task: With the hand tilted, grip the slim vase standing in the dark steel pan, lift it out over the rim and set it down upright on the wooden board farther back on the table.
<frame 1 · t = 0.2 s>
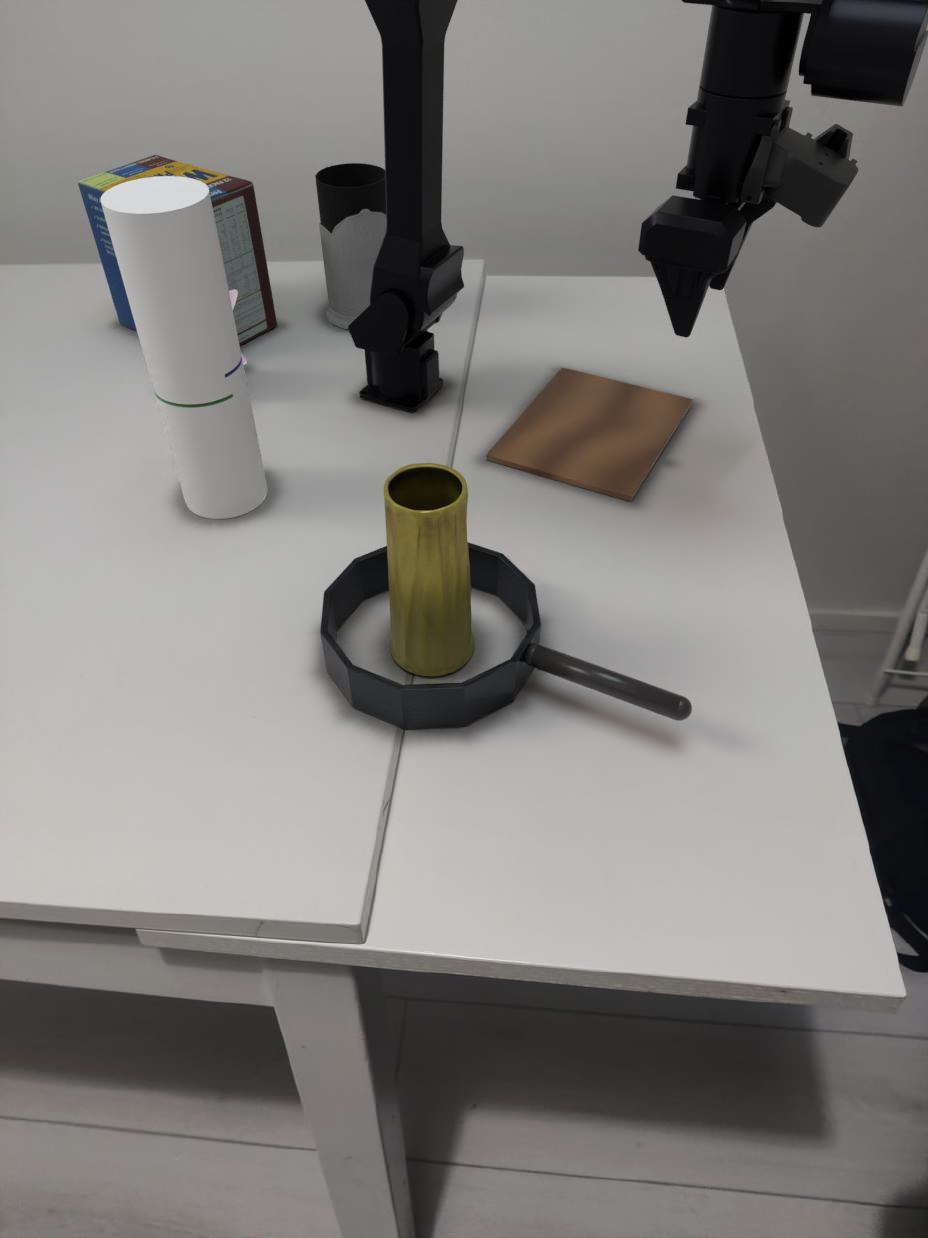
hand: (700, 311, 69), 15 cm above the table, tool pointing down, fingers open, 9 cm apart
wooden board: (593, 430, 84), on the table
cylindrical container: (227, 495, 77), on the table
lily: (211, 388, 90), on the table
vase: (432, 648, 64), resting in pan
pan: (432, 646, 64), on the table
glass holder: (356, 304, 104), on the table
protein box: (198, 327, 100), on the table
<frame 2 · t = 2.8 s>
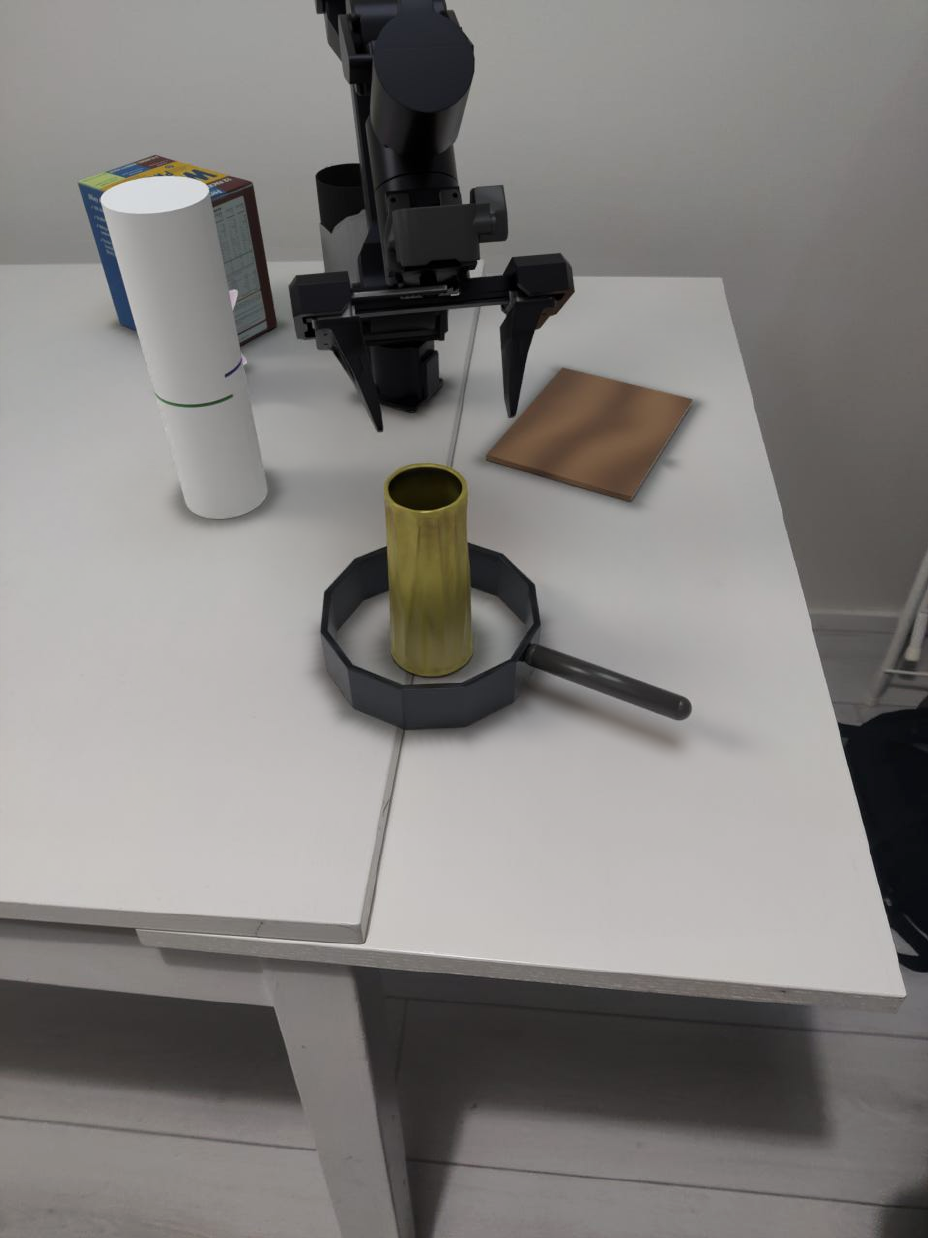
hand: (446, 424, 60), 13 cm above the table, tool tilted 40°, fingers open, 9 cm apart
nothing on the table moved.
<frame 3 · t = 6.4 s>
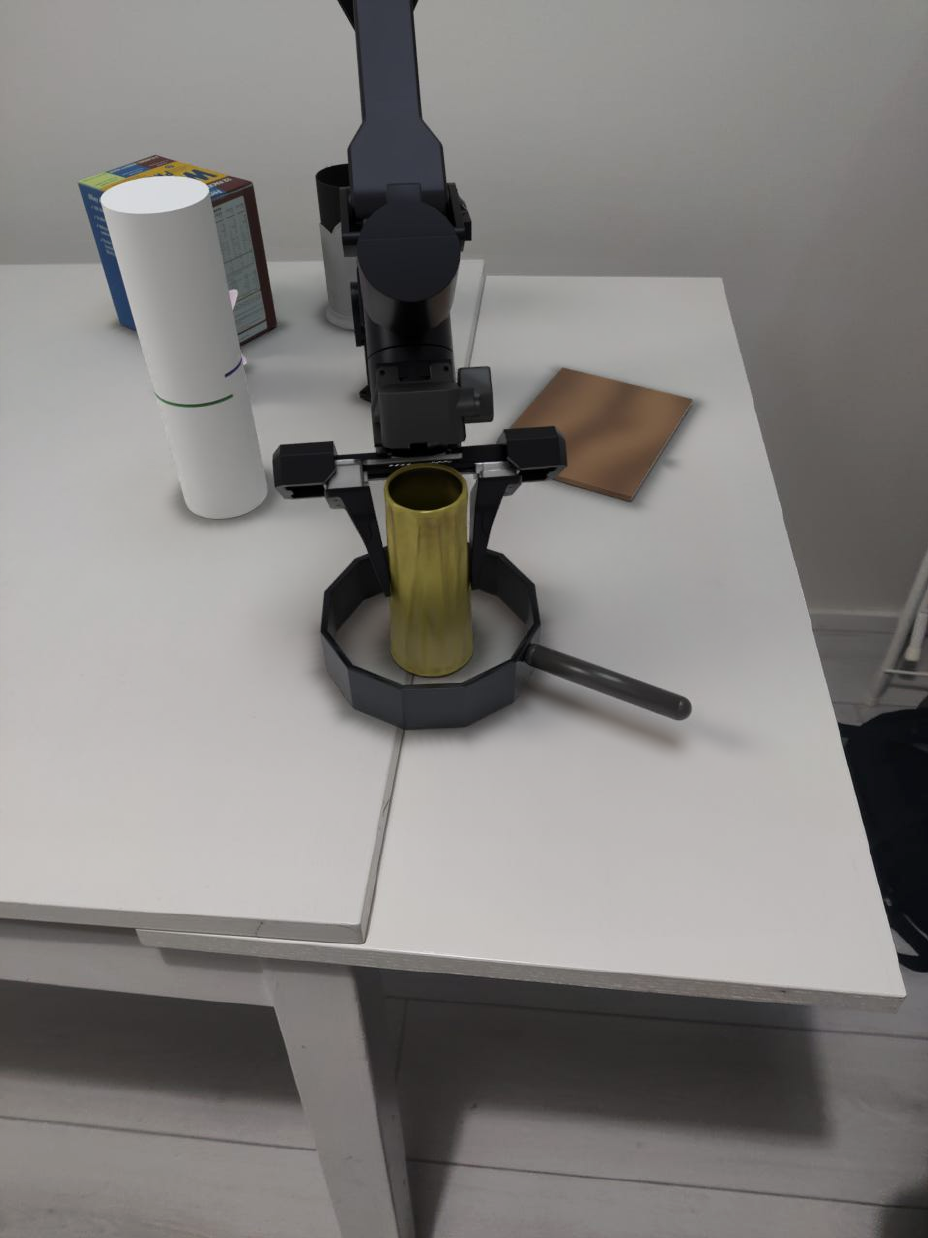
hand: (431, 593, 58), 7 cm above the table, tool tilted 45°, fingers closed on vase, 5 cm apart
vase: (432, 648, 64), resting in pan, touching gripper
everything else where it was.
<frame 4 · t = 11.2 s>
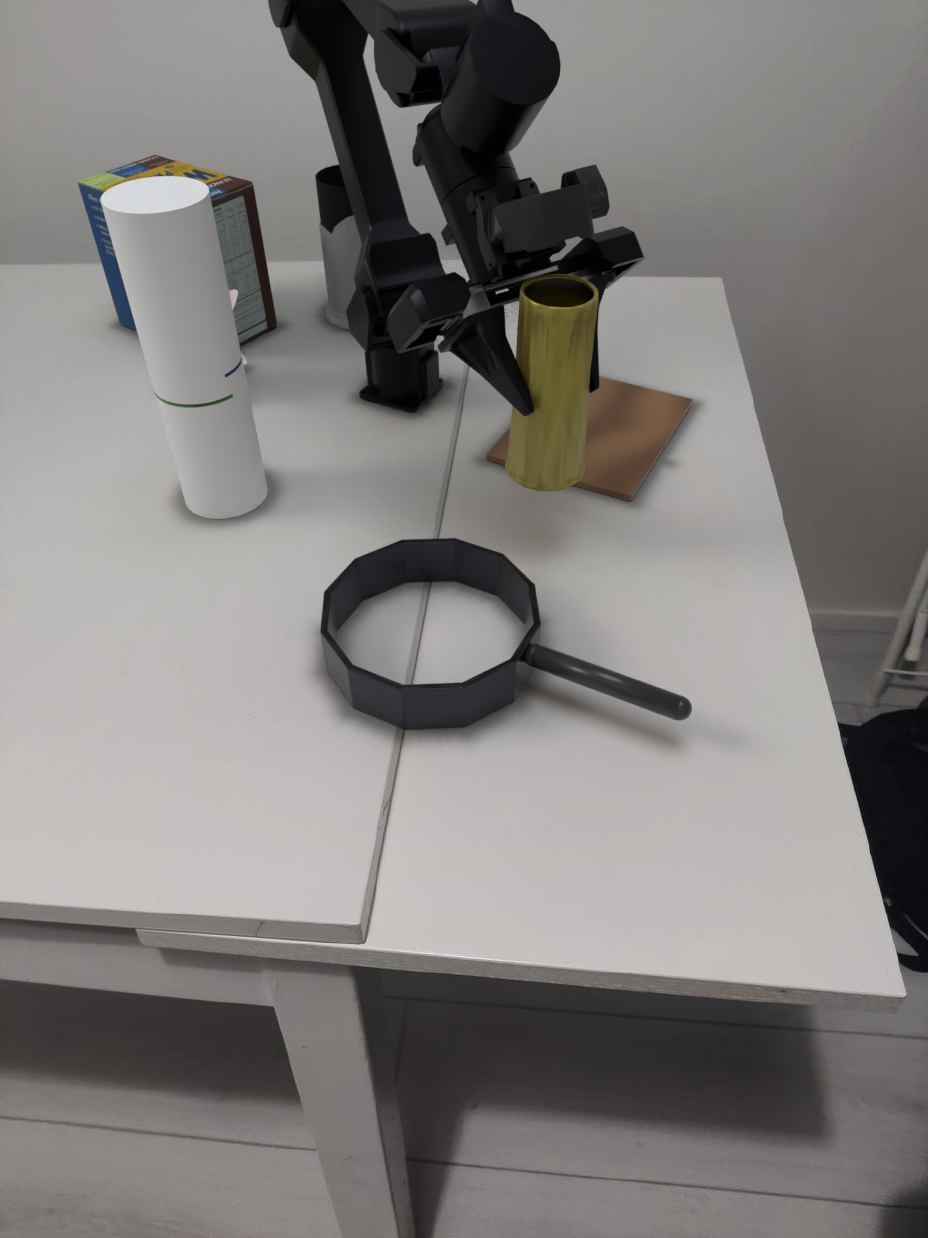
hand: (562, 402, 62), 13 cm above the table, tool tilted 45°, fingers closed on vase, 5 cm apart
vase: (544, 471, 68), point 7 cm above the table, touching gripper
everything else where it was.
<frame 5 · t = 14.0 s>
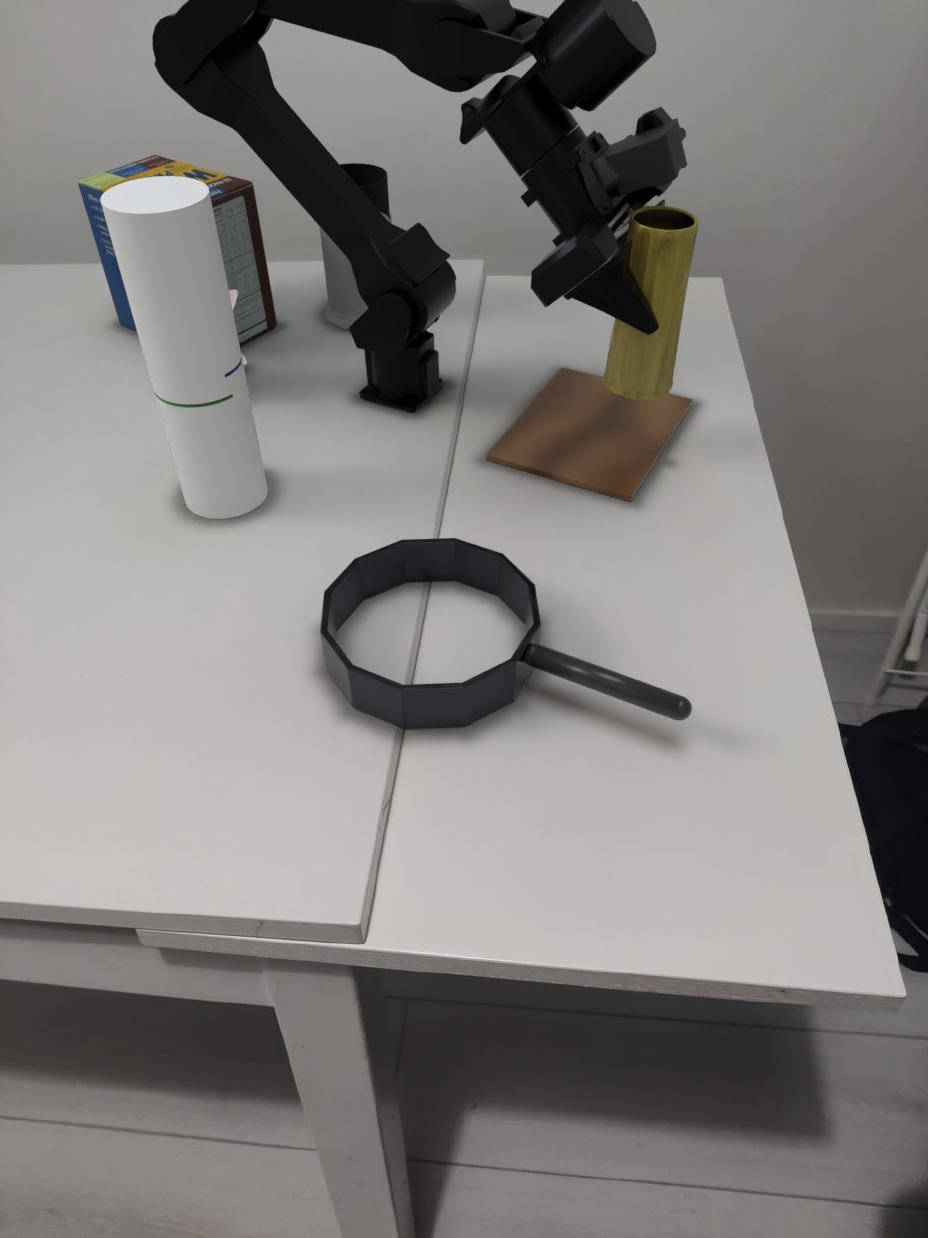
hand: (664, 316, 72), 13 cm above the table, tool tilted 45°, fingers closed on vase, 5 cm apart
vase: (636, 386, 77), point 6 cm above the table, touching gripper
everything else where it was.
when the fingers open (7 cm above the table, at t = 16.1 s): vase stays where it is, resting on wooden board.
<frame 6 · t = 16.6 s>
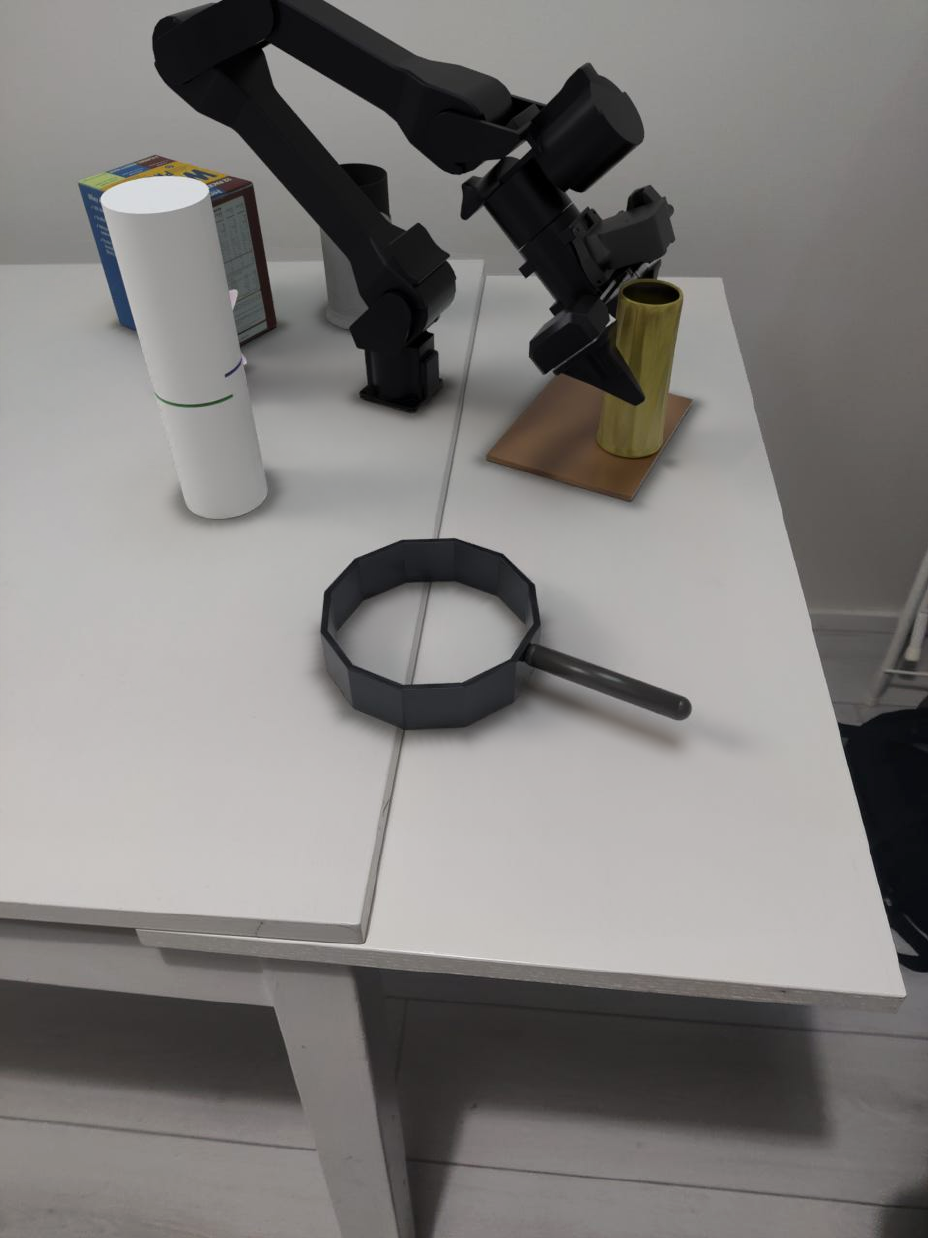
hand: (656, 377, 76), 7 cm above the table, tool tilted 45°, fingers open, 9 cm apart
vase: (628, 442, 81), resting on wooden board
everything else where it was.
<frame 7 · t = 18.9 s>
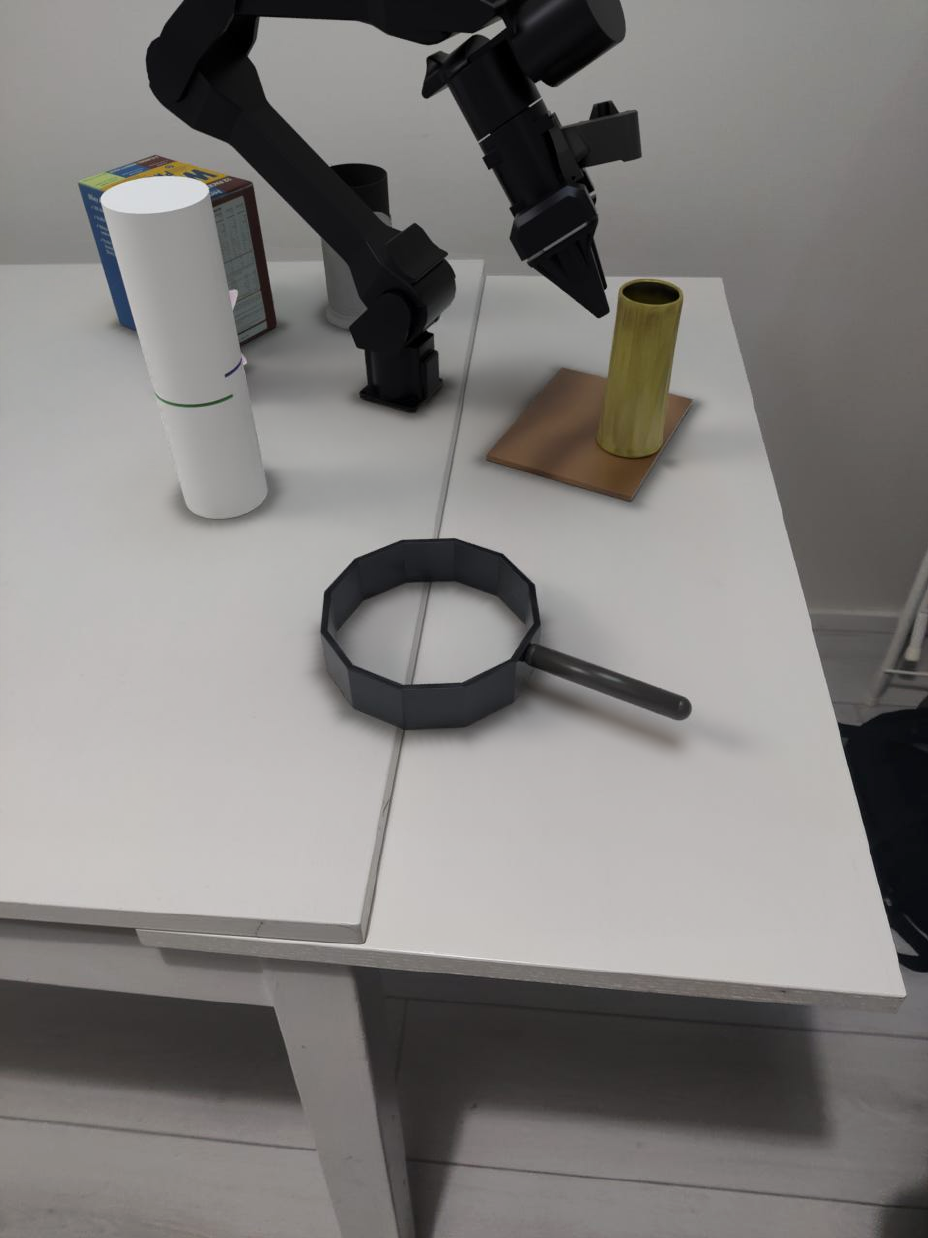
hand: (603, 302, 73), 13 cm above the table, tool tilted 35°, fingers open, 9 cm apart
nothing on the table moved.
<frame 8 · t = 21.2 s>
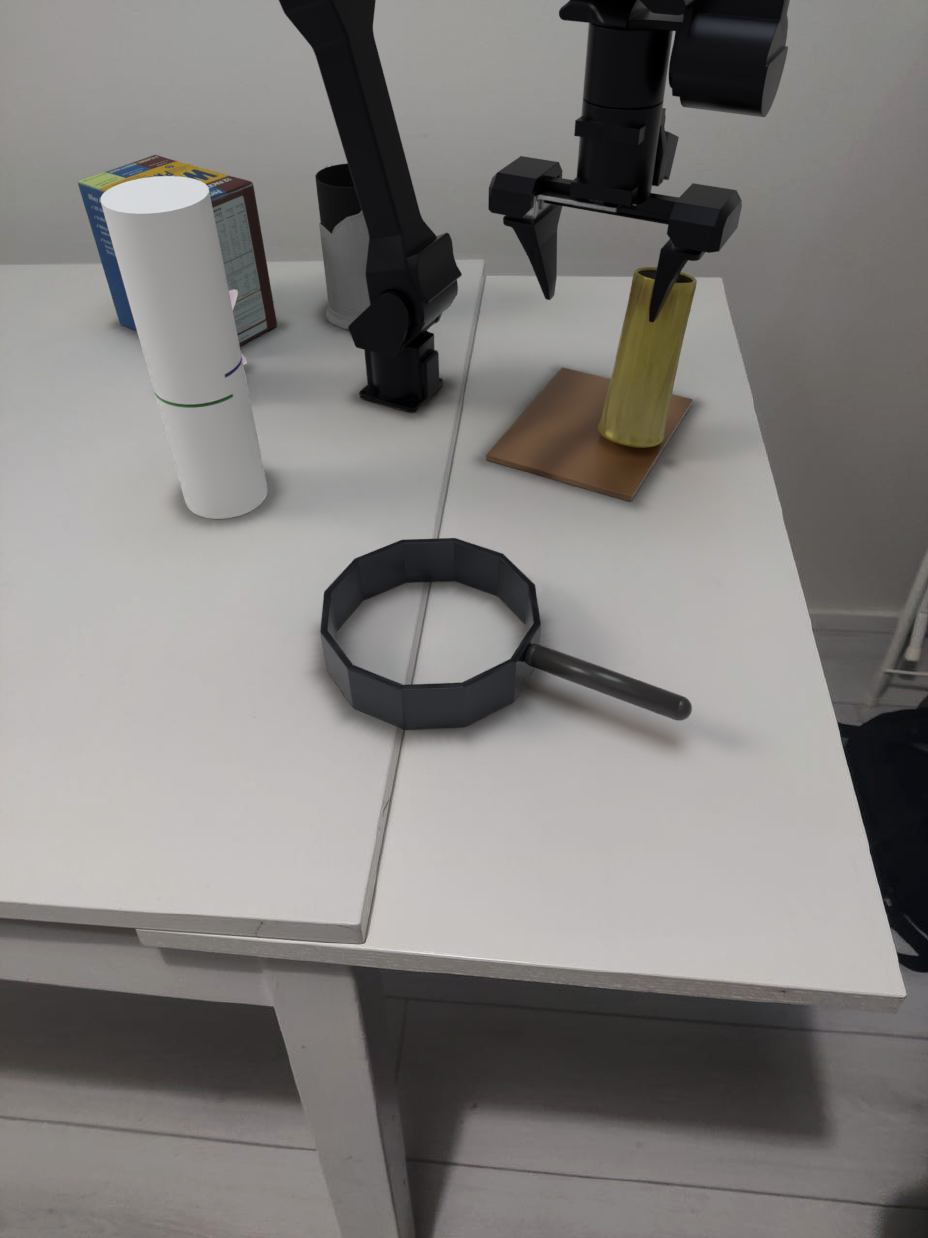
hand: (600, 308, 73), 13 cm above the table, tool pointing down, fingers open, 9 cm apart
vase: (629, 436, 81), point 1 cm above the table, touching wooden board, gripper
everything else where it was.
at the end: vase inside the target area on the wooden board (2.8 cm from its centre), point 1.0 cm above the wooden board's base; vase tilted 11°; vase touching wooden board, gripper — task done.
